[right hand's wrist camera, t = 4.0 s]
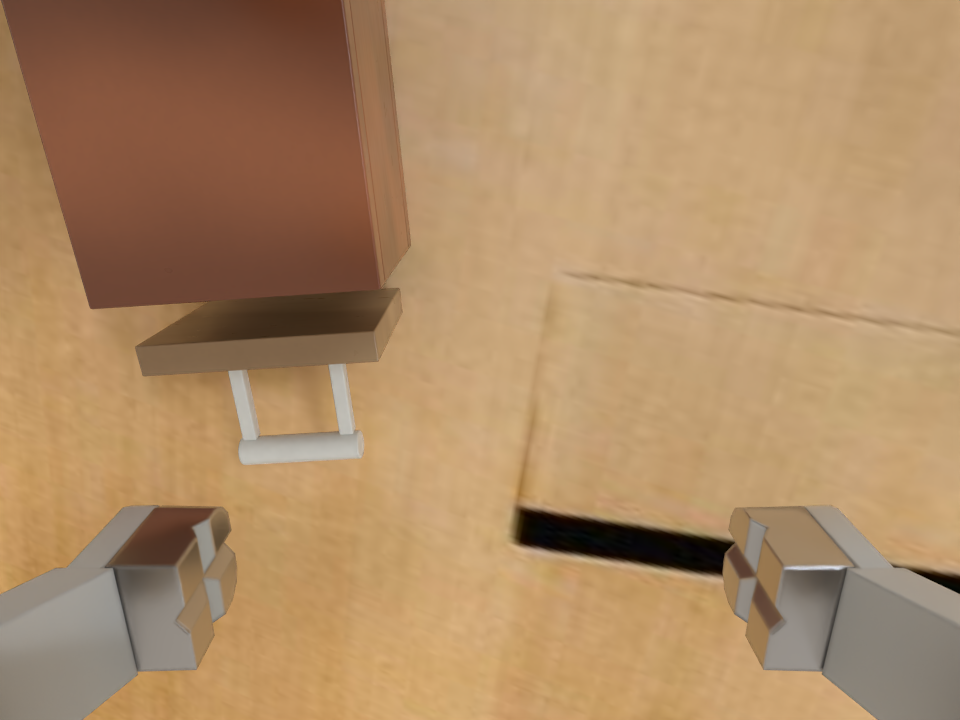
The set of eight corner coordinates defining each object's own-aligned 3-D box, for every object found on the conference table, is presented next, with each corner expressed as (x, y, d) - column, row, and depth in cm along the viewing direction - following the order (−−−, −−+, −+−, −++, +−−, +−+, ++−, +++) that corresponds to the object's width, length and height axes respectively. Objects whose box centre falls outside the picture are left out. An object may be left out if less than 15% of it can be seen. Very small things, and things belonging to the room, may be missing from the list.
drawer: (415, 416, 32) (396, 488, 25) (237, 427, 32) (175, 500, 26) (350, -130, 24) (300, -220, 18) (118, -107, 24) (-10, -188, 18)
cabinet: (411, 246, 30) (381, 289, 22) (197, 260, 30) (89, 309, 22) (356, -257, 23) (284, -458, 15) (88, -229, 24) (-119, -411, 16)
